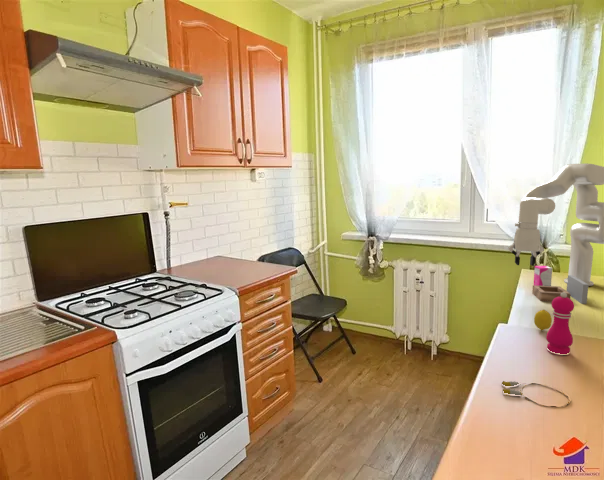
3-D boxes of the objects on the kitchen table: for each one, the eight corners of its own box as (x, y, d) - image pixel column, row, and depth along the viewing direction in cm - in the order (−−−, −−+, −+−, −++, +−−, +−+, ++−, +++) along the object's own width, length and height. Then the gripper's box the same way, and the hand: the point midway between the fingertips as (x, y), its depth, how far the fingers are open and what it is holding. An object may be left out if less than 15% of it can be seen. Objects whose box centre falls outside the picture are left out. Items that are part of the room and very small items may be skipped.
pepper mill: (567, 348, 129) (573, 290, 126) (574, 358, 122) (581, 296, 119) (542, 345, 131) (547, 288, 128) (548, 355, 125) (553, 294, 121)
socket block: (532, 293, 187) (532, 285, 186) (559, 294, 184) (560, 286, 184) (540, 300, 176) (541, 292, 175) (569, 302, 173) (570, 293, 173)
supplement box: (544, 287, 197) (546, 265, 195) (550, 291, 191) (553, 268, 189) (532, 287, 198) (534, 265, 196) (538, 290, 192) (540, 268, 190)
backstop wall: (566, 293, 187) (568, 275, 186) (570, 293, 187) (572, 275, 185) (581, 304, 172) (583, 284, 170) (586, 304, 171) (588, 284, 170)
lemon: (549, 328, 145) (551, 308, 144) (551, 334, 140) (553, 313, 139) (532, 326, 148) (534, 306, 146) (534, 332, 143) (535, 311, 141)
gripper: (509, 226, 176) (506, 266, 179) (552, 227, 172) (548, 267, 175) (505, 224, 183) (502, 262, 186) (545, 225, 179) (542, 263, 182)
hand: (524, 264), depth 180 cm, fingers open, 5 cm apart
